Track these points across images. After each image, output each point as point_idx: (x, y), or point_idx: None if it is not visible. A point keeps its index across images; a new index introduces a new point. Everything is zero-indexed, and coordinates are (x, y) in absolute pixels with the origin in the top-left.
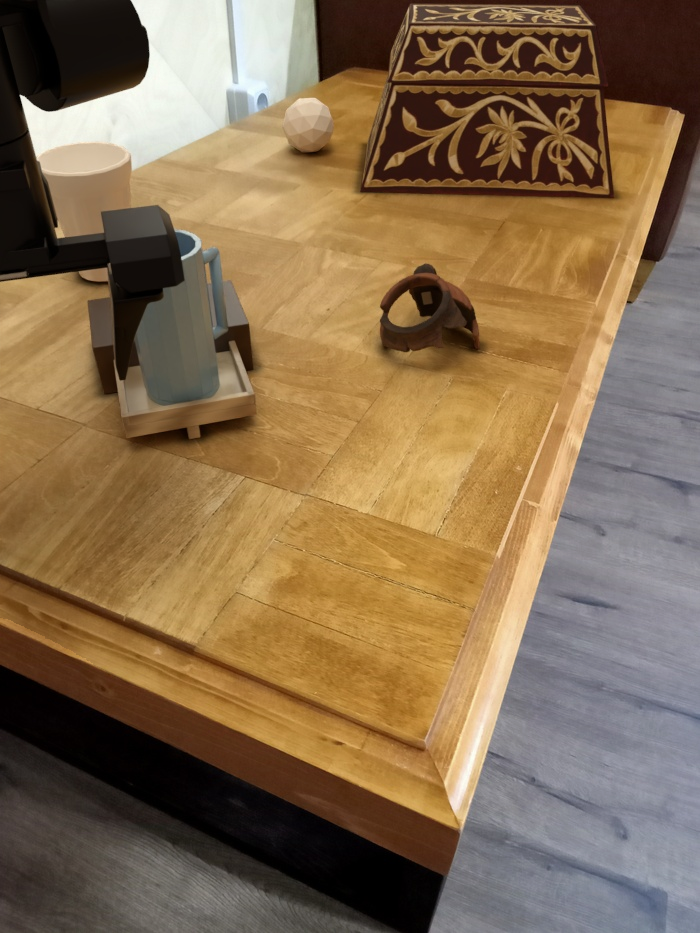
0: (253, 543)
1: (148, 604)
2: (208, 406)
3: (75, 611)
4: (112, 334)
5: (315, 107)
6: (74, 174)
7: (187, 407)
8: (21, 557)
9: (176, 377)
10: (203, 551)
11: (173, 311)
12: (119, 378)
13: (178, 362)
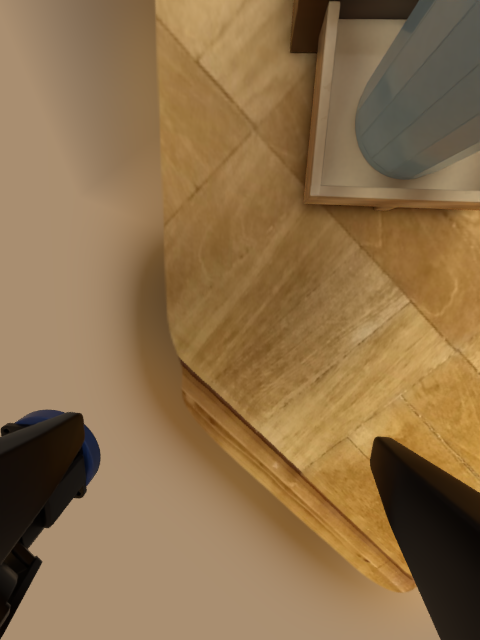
0: (381, 393)
1: (277, 424)
2: (431, 202)
3: (221, 410)
4: (446, 514)
5: None
6: None
7: (403, 200)
8: (179, 337)
9: (424, 159)
10: (335, 386)
11: None
12: (373, 473)
13: (453, 149)
